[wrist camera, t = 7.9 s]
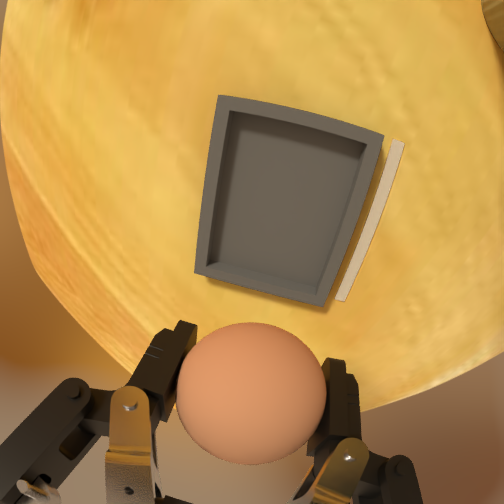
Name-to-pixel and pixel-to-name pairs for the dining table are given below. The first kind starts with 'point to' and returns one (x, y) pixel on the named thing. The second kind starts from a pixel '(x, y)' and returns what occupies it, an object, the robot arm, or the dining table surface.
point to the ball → (250, 393)
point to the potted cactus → (495, 19)
